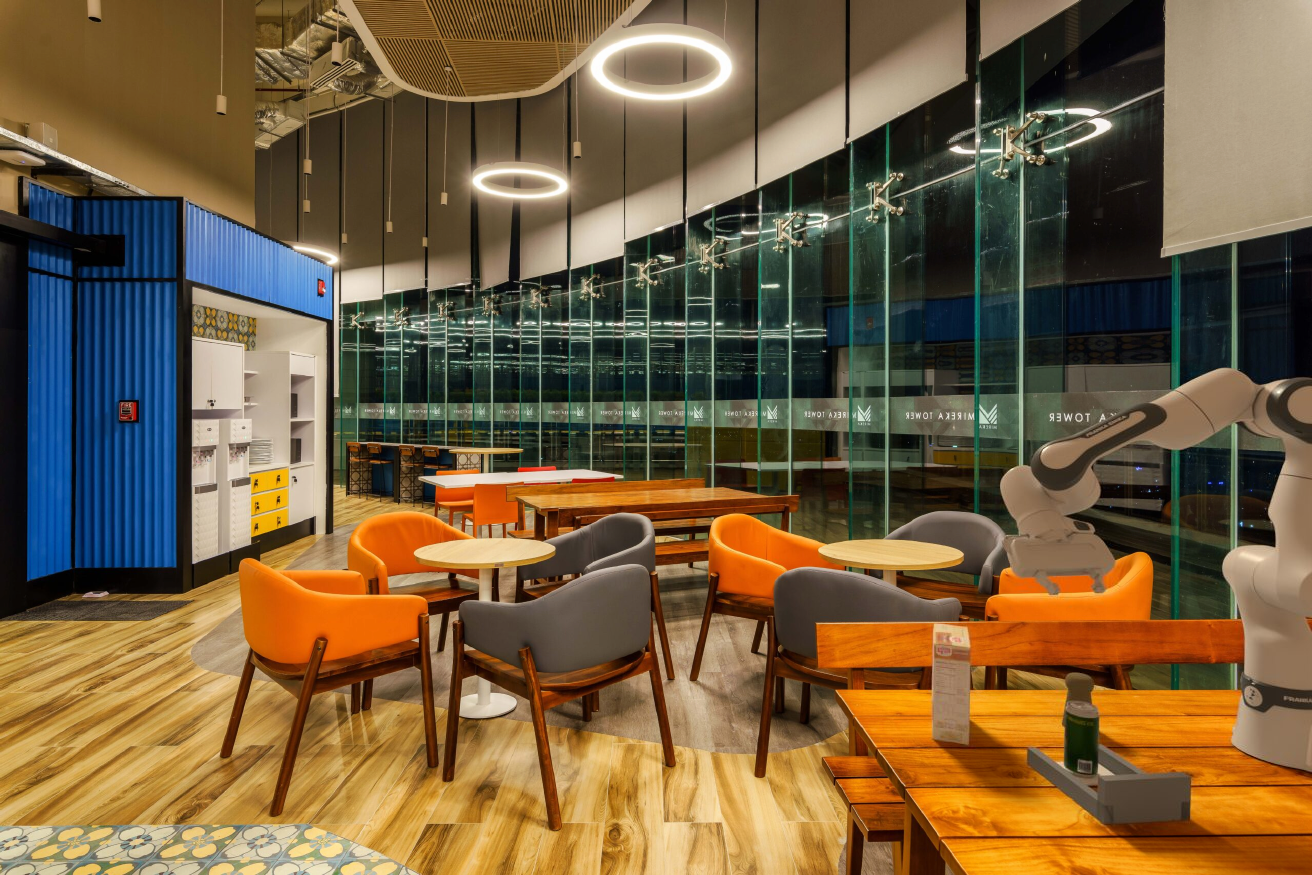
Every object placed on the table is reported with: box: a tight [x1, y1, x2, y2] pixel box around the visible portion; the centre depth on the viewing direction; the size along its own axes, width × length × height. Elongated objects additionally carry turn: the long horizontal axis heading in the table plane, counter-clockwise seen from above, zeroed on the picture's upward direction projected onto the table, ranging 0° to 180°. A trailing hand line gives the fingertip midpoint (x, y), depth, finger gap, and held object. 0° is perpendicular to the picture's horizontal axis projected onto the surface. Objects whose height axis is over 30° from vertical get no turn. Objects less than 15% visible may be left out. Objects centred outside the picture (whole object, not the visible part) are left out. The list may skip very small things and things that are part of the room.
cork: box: [1061, 672, 1095, 728], centre depth 150 cm, size 6×6×11 cm
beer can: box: [1063, 701, 1101, 778], centre depth 130 cm, size 5×5×12 cm
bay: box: [1026, 743, 1192, 825], centre depth 125 cm, size 15×20×7 cm
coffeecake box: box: [931, 623, 972, 746], centre depth 149 cm, size 15×7×20 cm, turn 159°
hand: (1078, 592), depth 140 cm, fingers open, 8 cm apart
